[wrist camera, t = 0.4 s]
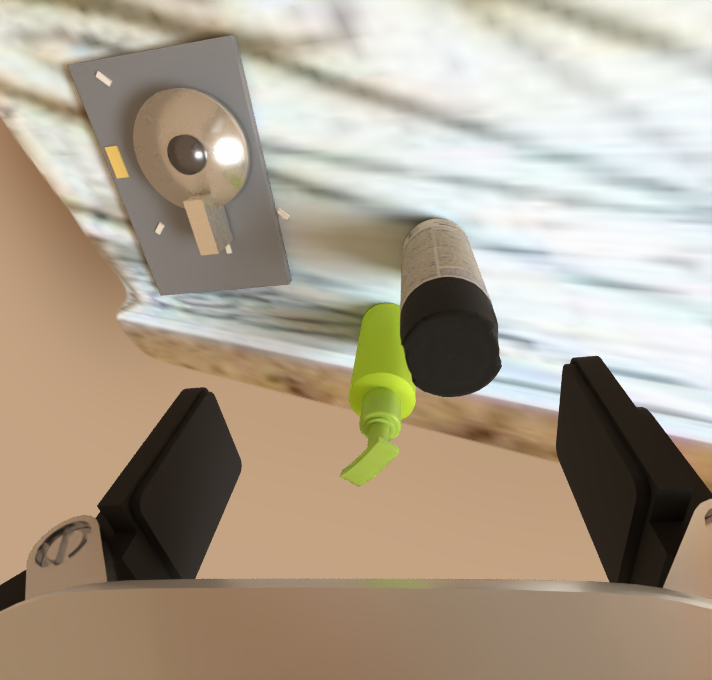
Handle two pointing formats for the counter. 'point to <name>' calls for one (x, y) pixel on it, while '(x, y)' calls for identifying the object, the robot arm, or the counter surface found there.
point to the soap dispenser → (379, 391)
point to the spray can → (446, 313)
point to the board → (150, 209)
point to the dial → (194, 158)
